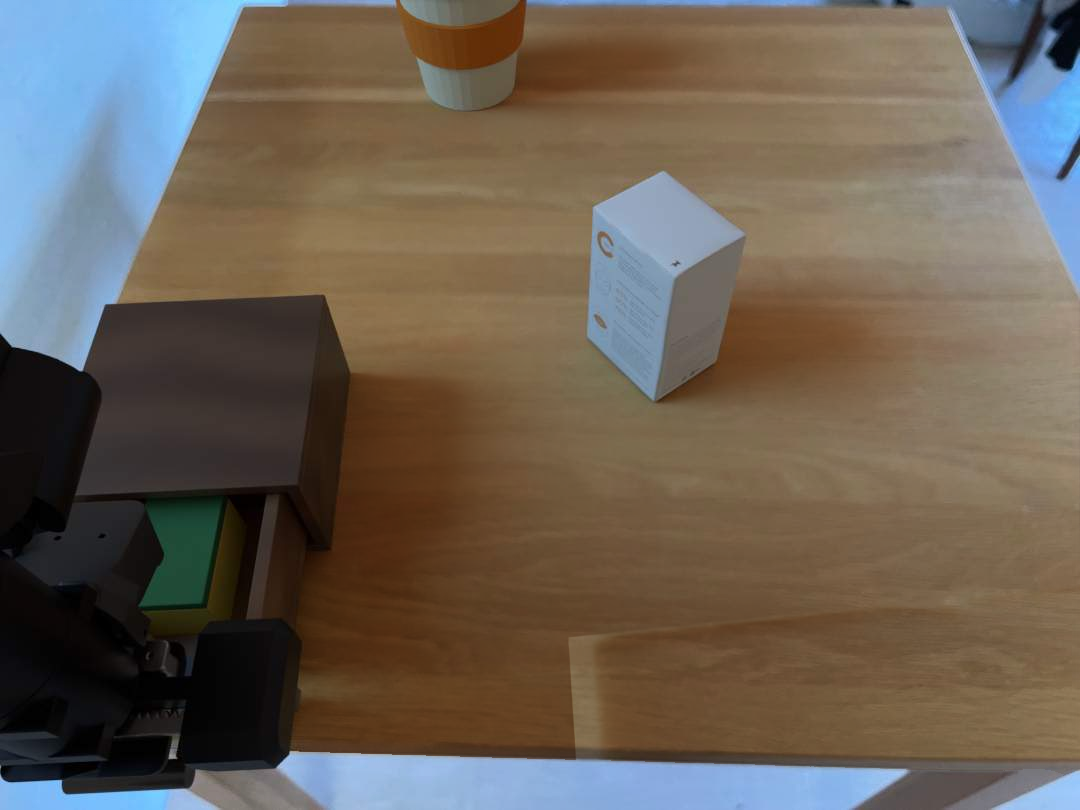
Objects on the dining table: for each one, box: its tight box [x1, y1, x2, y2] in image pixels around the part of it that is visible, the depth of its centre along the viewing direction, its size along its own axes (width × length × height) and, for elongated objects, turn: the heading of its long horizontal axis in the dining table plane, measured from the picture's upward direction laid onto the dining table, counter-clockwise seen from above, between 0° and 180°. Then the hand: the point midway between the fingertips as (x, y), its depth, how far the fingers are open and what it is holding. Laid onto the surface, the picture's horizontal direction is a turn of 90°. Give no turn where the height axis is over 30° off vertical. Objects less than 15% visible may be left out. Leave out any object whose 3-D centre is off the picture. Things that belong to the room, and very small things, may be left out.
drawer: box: [61, 492, 308, 796], centre depth 47 cm, size 18×13×7 cm
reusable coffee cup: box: [395, 0, 528, 112], centre depth 77 cm, size 13×13×15 cm
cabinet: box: [73, 294, 351, 552], centre depth 55 cm, size 15×15×9 cm
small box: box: [586, 170, 748, 403], centre depth 58 cm, size 8×6×13 cm
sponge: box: [137, 495, 247, 636], centre depth 49 cm, size 7×5×4 cm, turn 3°
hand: (155, 742), depth 44 cm, fingers closed, pressing on drawer
